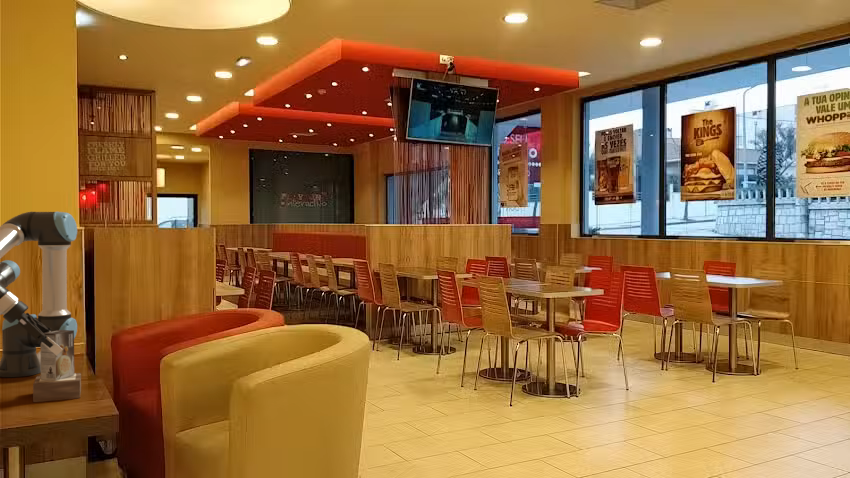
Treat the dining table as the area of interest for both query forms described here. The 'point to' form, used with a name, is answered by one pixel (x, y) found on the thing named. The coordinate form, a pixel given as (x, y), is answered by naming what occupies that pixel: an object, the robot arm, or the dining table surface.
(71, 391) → the pedestal
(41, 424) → the dining table surface
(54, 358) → the coffee box
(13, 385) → the dining table surface
